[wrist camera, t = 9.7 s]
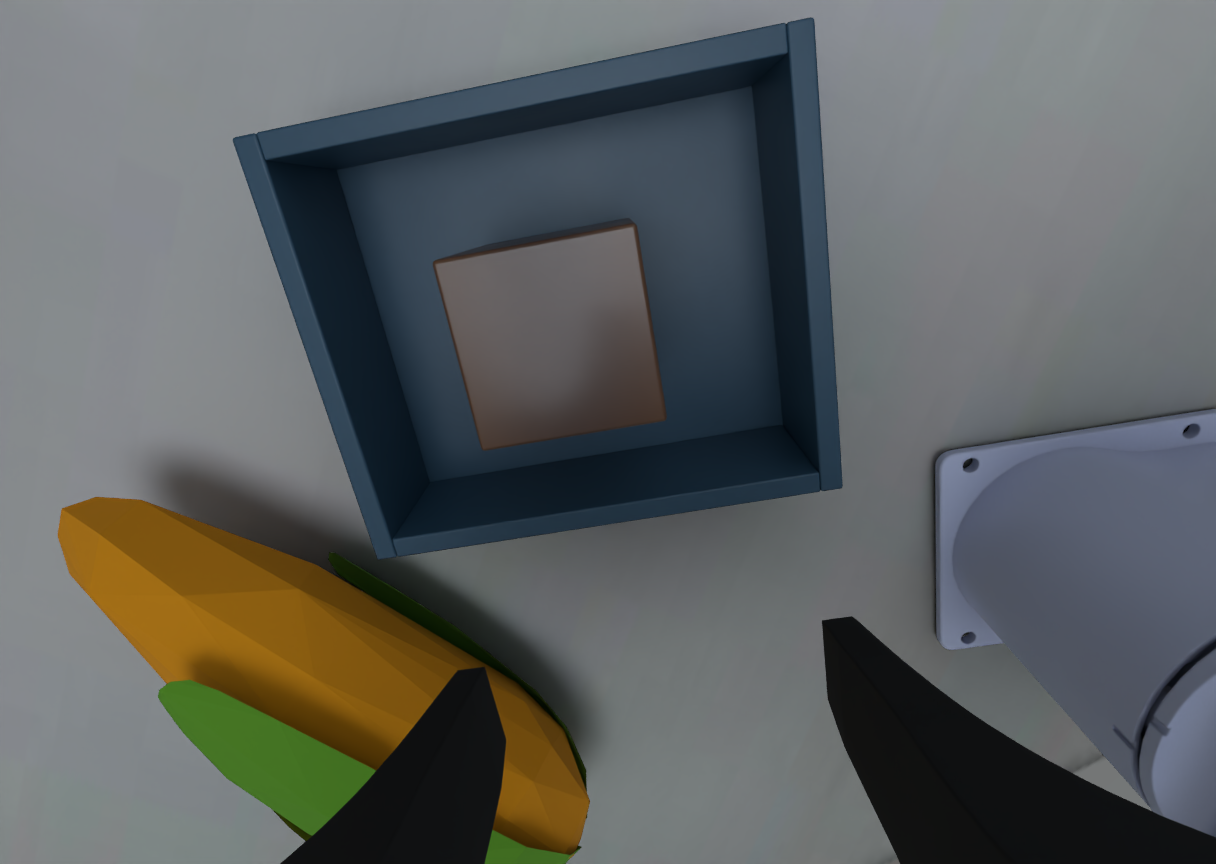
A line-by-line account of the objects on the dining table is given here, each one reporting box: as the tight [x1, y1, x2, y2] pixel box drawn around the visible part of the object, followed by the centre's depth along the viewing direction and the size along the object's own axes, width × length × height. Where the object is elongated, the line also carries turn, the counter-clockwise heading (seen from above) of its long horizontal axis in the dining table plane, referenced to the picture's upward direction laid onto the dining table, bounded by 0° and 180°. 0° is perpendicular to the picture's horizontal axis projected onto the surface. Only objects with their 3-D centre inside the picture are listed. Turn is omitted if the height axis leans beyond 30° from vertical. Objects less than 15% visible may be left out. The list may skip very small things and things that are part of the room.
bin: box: [233, 18, 843, 560], centre depth 18 cm, size 13×11×4 cm
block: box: [433, 218, 667, 451], centre depth 17 cm, size 4×4×6 cm
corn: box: [58, 497, 590, 864], centre depth 21 cm, size 7×8×20 cm
